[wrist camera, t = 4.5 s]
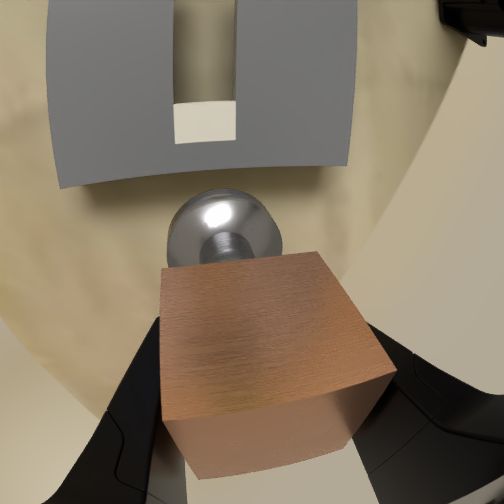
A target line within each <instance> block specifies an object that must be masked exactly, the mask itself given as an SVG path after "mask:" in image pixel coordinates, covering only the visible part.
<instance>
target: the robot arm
mask: <svg viewBox="0 0 504 504" xmlns="http://www.w3.org/2000/svg"><path fill="white" fill-rule="evenodd" d="M439 3H440V20H441V22H442V23H443V24H444V25H446V26H447V27H449V28H451V29H453V30H455V31H457V32H458V33H460V34H462V35H464V36H465V37H467V38H469V39H470V40H472V41H474V42H475V43H477V44H478V45H480V46H483V47H486V45H487V36H495V37H503V38H504V0H439ZM366 323H367V322H366ZM367 324H368V326H369V327H370V329H371V330H372V332H373V333H374V335H375V336H376V338H377V339H378V341H379V343H380V344H381V346H382V347H383V349H384V350H385V352H386V353H387V355H388V356H389V358H390V360H391V361H392V363H393V364H394V366H395V368H396V369H397V371H396V373H395V375H394V376H393V378H392V380H391V381H390V383H389V384H388V386H387V388H386V389H385V391H384V392H383V394H382V395H381V397H380V398H379V400H378V401H377V403H376V404H375V406H374V407H373V409H372V410H371V412H370V413H369V414H368V416H367V417H366V419H365V420H364V421H363V423H362V424H361V425H360V427H359V428H358V430H357V431H356V432H355V434H354V435H353V436H352V439H353V441H354V444H355V446H356V449H357V451H358V453H359V456H360V458H361V460H362V463H363V465H364V467H365V470H366V472H367V474H368V477H369V480H370V482H371V484H372V487H373V489H374V492H375V494H376V497H377V499H378V502H379V504H504V395H494V394H489V393H485V392H483V391H480V390H478V389H476V388H474V387H472V386H470V385H469V384H466V383H465V382H462V381H461V380H459V379H457V378H455V377H453V376H451V375H450V374H448V373H446V372H444V371H442V370H440V369H438V368H437V367H435V366H434V365H432V364H431V363H429V362H427V361H426V360H424V359H422V358H421V357H419V356H418V355H416V354H413V353H412V351H410V350H409V349H407V348H406V347H404V346H403V345H401V344H399V343H398V342H396V341H395V340H393V339H392V338H390V337H389V336H387V335H386V334H384V333H383V332H381V331H379V330H378V329H377V328H375V327H373V326H372V325H370V324H369V323H367ZM42 504H187V494H186V478H185V460H184V457H183V455H182V453H181V452H180V450H179V449H178V447H177V445H176V444H175V442H174V440H173V438H172V437H171V435H170V433H169V432H168V430H167V428H166V426H165V424H164V423H163V421H162V405H161V382H160V316H159V317H157V318H156V319H155V321H154V323H153V325H152V326H151V328H150V330H149V332H148V333H147V335H146V337H145V339H144V340H143V342H142V344H141V346H140V348H139V349H138V351H137V353H136V355H135V357H134V358H133V360H132V362H131V364H130V366H129V368H128V369H127V371H126V373H125V375H124V377H123V379H122V381H121V382H120V384H119V386H118V388H117V390H116V392H115V394H114V396H113V398H112V400H111V401H110V403H109V405H108V407H107V411H105V413H104V415H103V417H102V419H101V421H100V423H99V425H98V426H97V428H96V430H95V432H94V434H93V436H92V437H91V439H90V441H89V442H88V444H87V445H86V447H85V449H84V450H83V452H82V453H81V455H80V456H79V458H78V459H77V461H76V463H75V464H74V466H73V467H72V469H71V470H70V472H69V473H68V475H67V477H66V478H65V480H64V481H63V483H62V484H61V486H60V487H59V488H58V490H57V491H56V492H55V493H54V494H53V495H52V496H51V497H50V498H49V499H48V500H46V501H45V502H44V503H42Z"/></svg>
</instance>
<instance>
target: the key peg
mask: <svg viewBox="0 0 504 504" xmlns="http://www.w3.org/2000/svg"><path fill="white" fill-rule="evenodd" d="M167 263H168V267H169V268H163V269H162V270H161V294H160V382H161V405H162V421H163V423H164V424H165V426H166V428H167V430H168V432H169V433H170V435H171V437H172V438H173V440H174V442H175V444H176V445H177V447H178V449H179V450H180V452H181V453H182V455H183V457H184V458H185V460H186V461H187V463H188V465H189V466H190V468H191V469H192V471H193V472H194V474H195V475H196V477H197V478H198V479H199V480H200V479H209V478H218V477H225V476H233V475H239V474H245V473H251V472H256V471H262V470H266V469H271V468H275V467H280V466H284V465H289V464H293V463H297V462H300V461H304V460H308V459H311V458H314V457H318V456H321V455H325V454H328V453H331V452H334V451H337V450H340V449H343V448H344V446H345V445H346V444H347V443H348V441H349V440H350V439H351V437H352V436H353V435H354V434H355V432H356V431H357V430H358V428H359V427H360V425H361V424H362V423H363V421H364V420H365V419H366V417H367V416H368V414H369V413H370V412H371V410H372V409H373V407H374V406H375V404H376V403H377V401H378V400H379V398H380V397H381V395H382V394H383V392H384V391H385V389H386V388H387V386H388V384H389V383H390V381H391V380H392V378H393V376H394V375H395V373H396V371H397V369H396V368H395V366H394V364H393V363H392V361H391V360H390V358H389V356H388V355H387V353H386V352H385V350H384V349H383V347H382V346H381V344H380V343H379V341H378V339H377V338H376V336H375V335H374V333H373V332H372V330H371V329H370V327H369V326H368V324H367V323H366V321H365V320H364V318H363V317H362V315H361V314H360V312H359V311H358V309H357V308H356V307H355V305H354V304H353V302H352V301H351V299H350V298H349V296H348V295H347V293H346V292H345V290H344V289H343V287H342V286H341V285H340V283H339V282H338V280H337V279H336V277H335V276H334V275H333V273H332V272H331V270H330V269H329V268H328V266H327V265H326V263H325V262H324V261H323V259H322V258H321V256H320V255H319V254H318V252H317V251H315V252H307V253H298V254H289V255H282V238H281V234H280V231H279V229H278V227H277V225H276V223H275V222H274V220H273V218H272V217H271V215H270V214H269V212H268V211H267V209H266V208H265V206H264V205H263V204H262V203H261V202H260V201H259V200H257V199H256V198H255V197H253V196H251V195H249V194H247V193H245V192H242V191H238V190H234V189H216V190H210V191H207V192H204V193H201V194H199V195H197V196H195V197H193V198H191V199H190V200H189V201H187V202H186V203H185V204H184V205H183V206H182V207H181V208H180V209H179V210H178V211H177V213H176V214H175V216H174V217H173V219H172V221H171V224H170V226H169V230H168V238H167Z"/></svg>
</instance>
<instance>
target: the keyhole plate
mask: <svg viewBox="0 0 504 504" xmlns="http://www.w3.org/2000/svg"><path fill="white" fill-rule="evenodd" d="M173 28H174V0H49V5H48V17H47V33H46V82H47V99H48V112H49V122H50V131H51V138H52V146H53V152H54V159H55V165H56V170H57V176H58V181H59V186H60V189H63V188H69V187H74V186H80V185H86V184H92V183H99V182H105V181H112V180H119V179H126V178H134V177H142V176H150V175H159V174H169V173H179V172H190V171H202V170H215V169H231V168H250V167H278V166H347V162H348V153H349V145H350V135H351V125H352V115H353V103H354V89H355V73H356V52H357V0H235V16H234V67H233V101H205V102H189V103H176V104H174V91H173Z"/></svg>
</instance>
